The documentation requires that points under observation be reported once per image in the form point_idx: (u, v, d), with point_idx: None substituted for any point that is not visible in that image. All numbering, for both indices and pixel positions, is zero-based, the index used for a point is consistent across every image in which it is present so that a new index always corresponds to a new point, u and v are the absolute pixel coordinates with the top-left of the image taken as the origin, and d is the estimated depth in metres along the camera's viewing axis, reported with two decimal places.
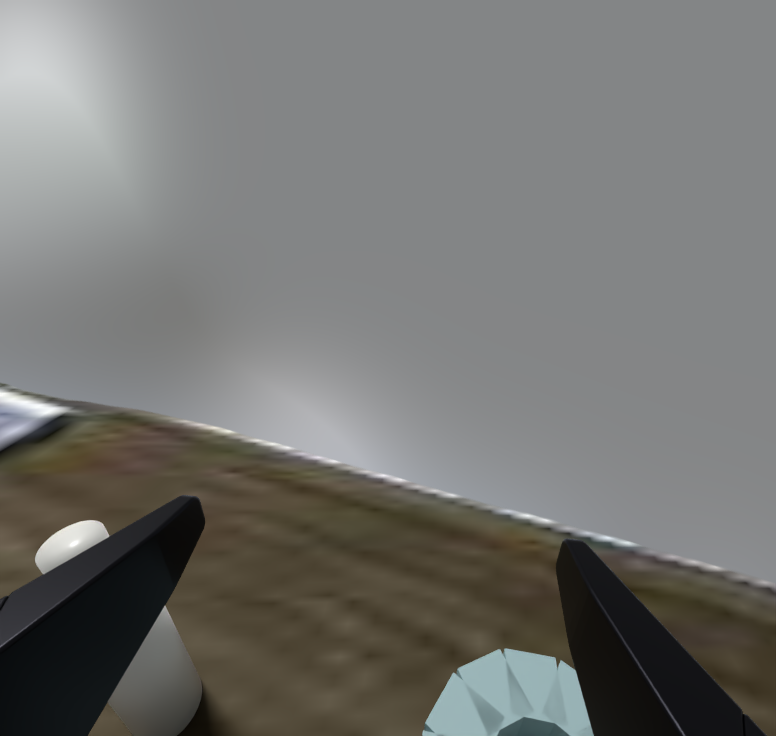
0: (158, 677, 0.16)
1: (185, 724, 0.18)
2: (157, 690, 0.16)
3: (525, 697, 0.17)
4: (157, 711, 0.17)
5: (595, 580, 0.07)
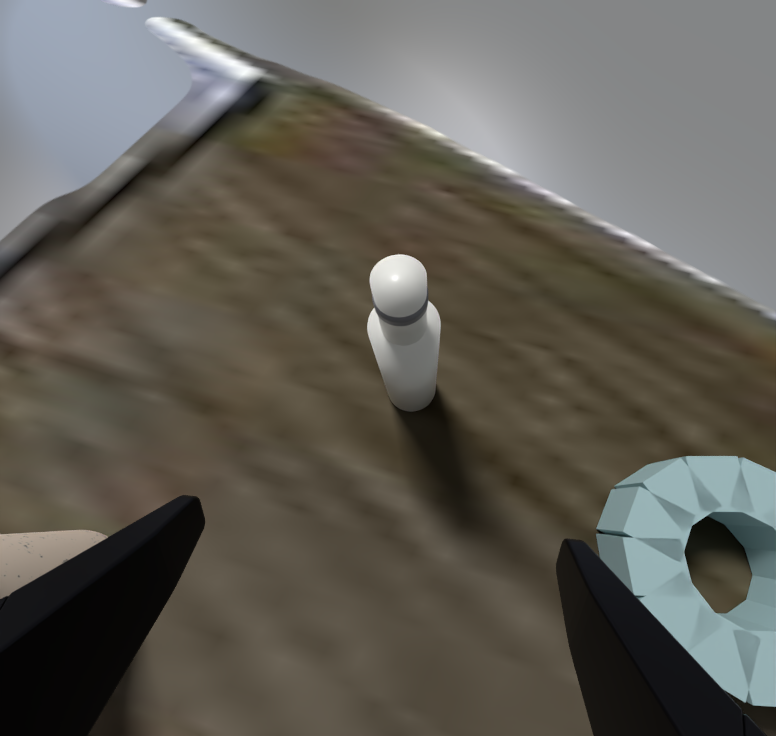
0: (426, 382, 0.20)
1: (426, 405, 0.24)
2: (423, 388, 0.20)
3: (748, 499, 0.18)
4: (417, 398, 0.21)
5: (595, 580, 0.07)
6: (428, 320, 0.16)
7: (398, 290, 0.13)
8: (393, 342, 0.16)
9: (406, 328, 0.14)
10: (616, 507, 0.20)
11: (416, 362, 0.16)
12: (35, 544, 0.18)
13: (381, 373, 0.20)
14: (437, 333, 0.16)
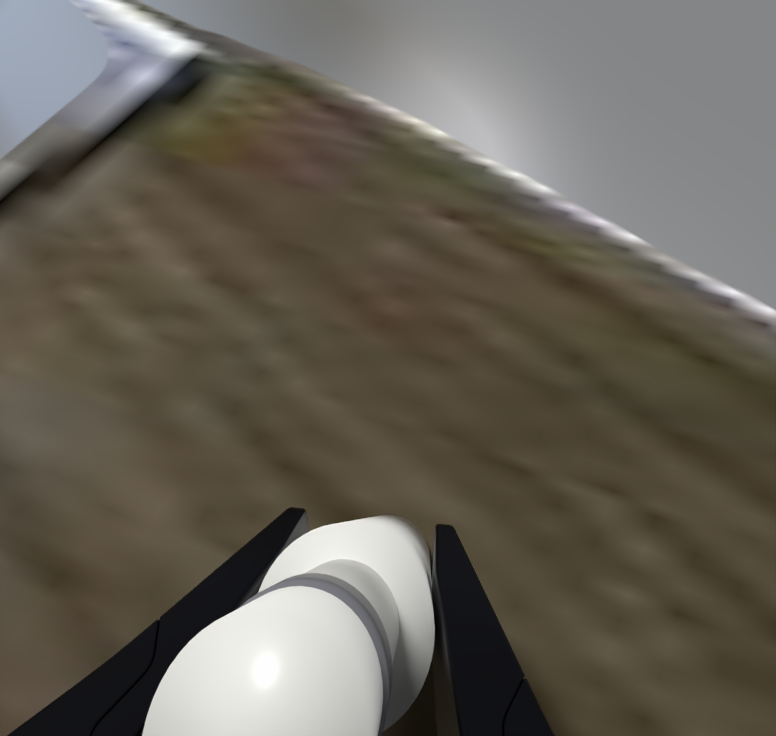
0: None
1: None
2: None
3: None
4: None
5: (445, 561, 0.07)
6: (403, 615, 0.06)
7: None
8: None
9: None
10: None
11: None
12: None
13: None
14: (425, 661, 0.06)
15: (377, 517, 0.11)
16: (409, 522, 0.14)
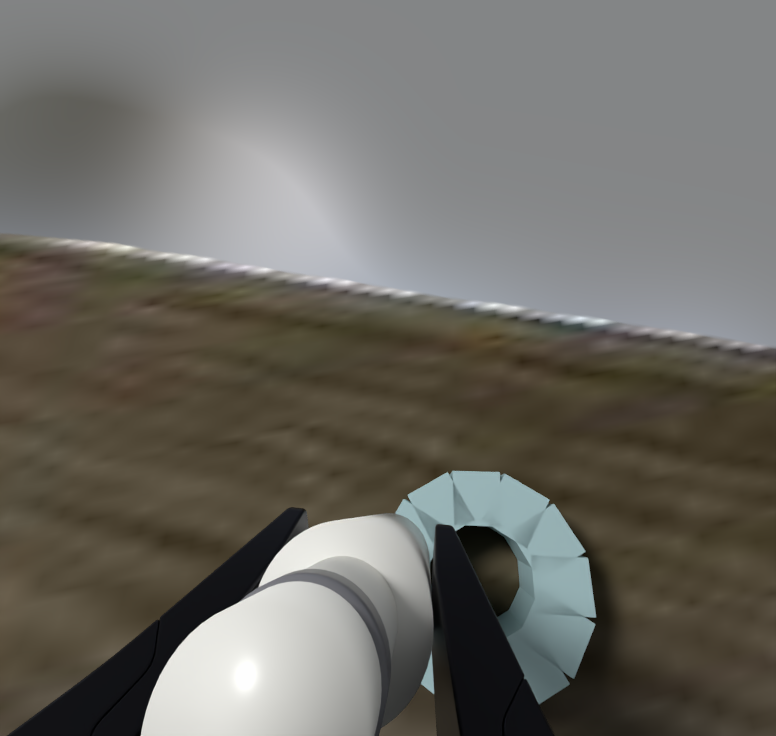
0: None
1: None
2: None
3: (468, 509, 0.19)
4: None
5: (445, 561, 0.07)
6: (402, 611, 0.06)
7: None
8: None
9: None
10: None
11: None
12: None
13: None
14: (423, 657, 0.06)
15: (376, 515, 0.11)
16: (408, 521, 0.14)
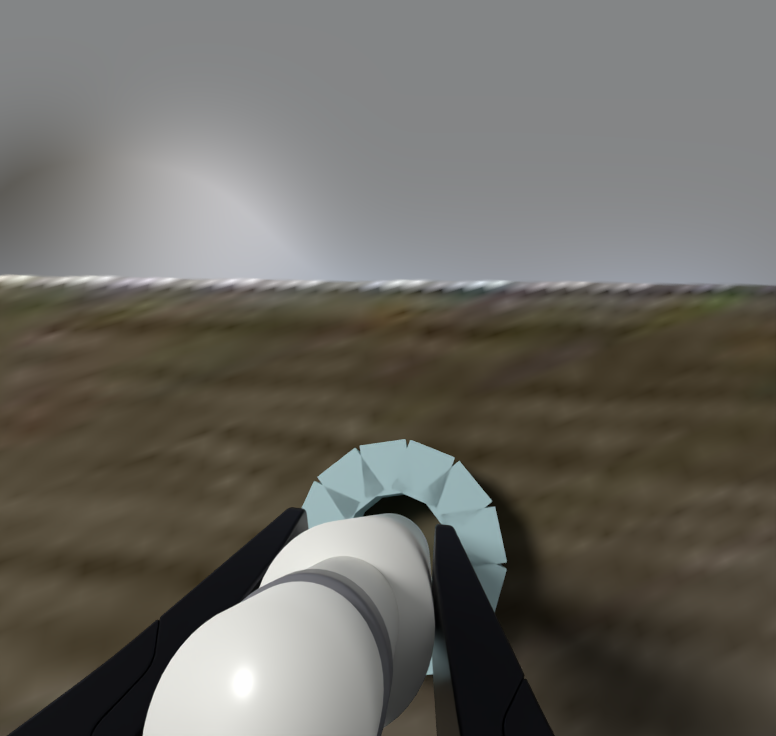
0: None
1: None
2: None
3: (378, 480, 0.19)
4: None
5: (445, 561, 0.07)
6: (404, 611, 0.06)
7: None
8: None
9: None
10: None
11: None
12: None
13: None
14: (425, 657, 0.06)
15: (377, 515, 0.11)
16: (409, 521, 0.14)
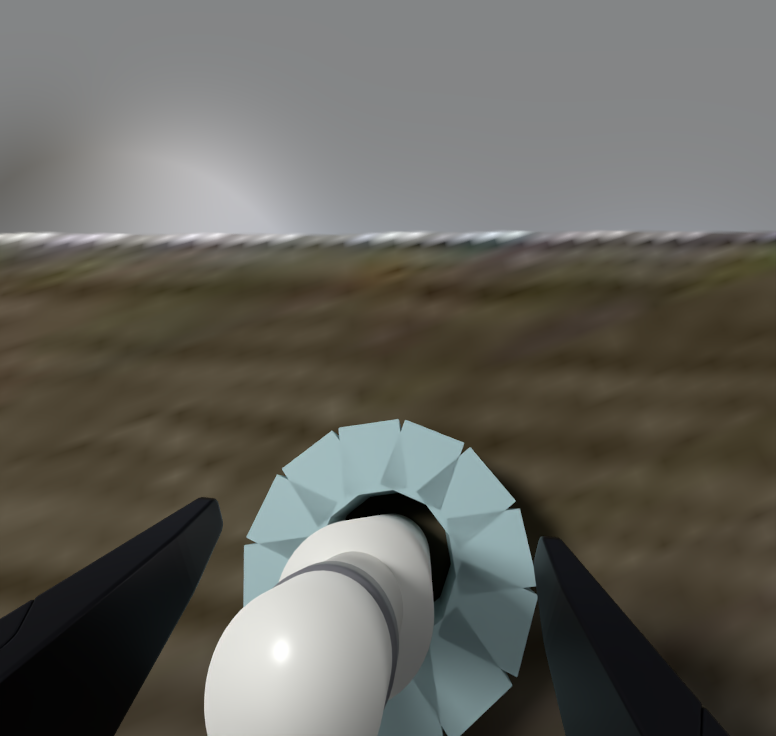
0: None
1: None
2: None
3: (362, 472, 0.14)
4: None
5: (568, 577, 0.07)
6: (407, 599, 0.07)
7: None
8: None
9: None
10: None
11: None
12: None
13: None
14: (425, 640, 0.07)
15: (381, 515, 0.12)
16: (410, 520, 0.15)
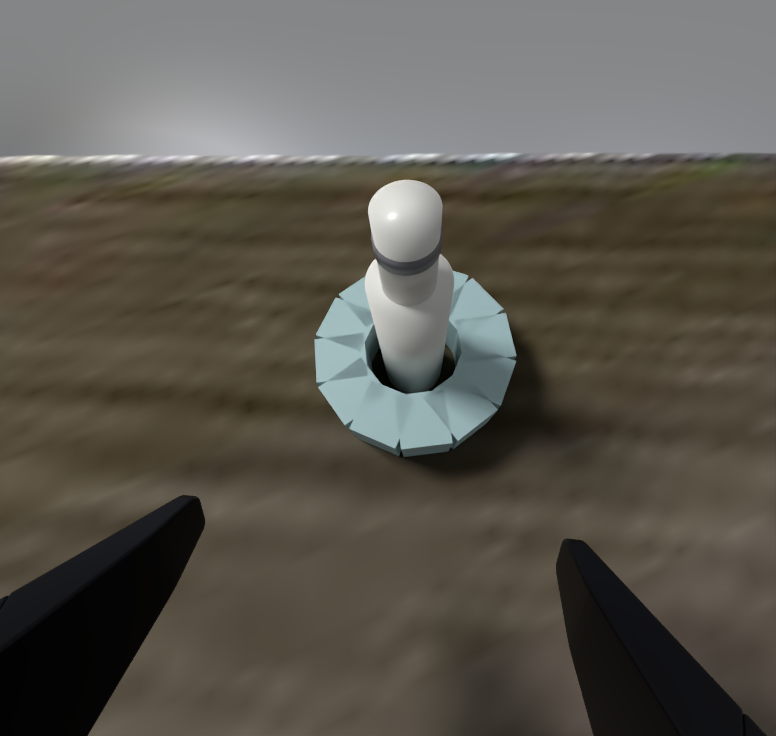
0: (433, 357, 0.17)
1: (430, 387, 0.21)
2: (428, 365, 0.17)
3: None
4: (421, 377, 0.19)
5: (595, 580, 0.07)
6: (439, 276, 0.13)
7: (405, 223, 0.10)
8: (395, 302, 0.13)
9: (412, 280, 0.12)
10: None
11: (423, 328, 0.13)
12: None
13: (380, 345, 0.17)
14: (449, 291, 0.13)
15: None
16: None
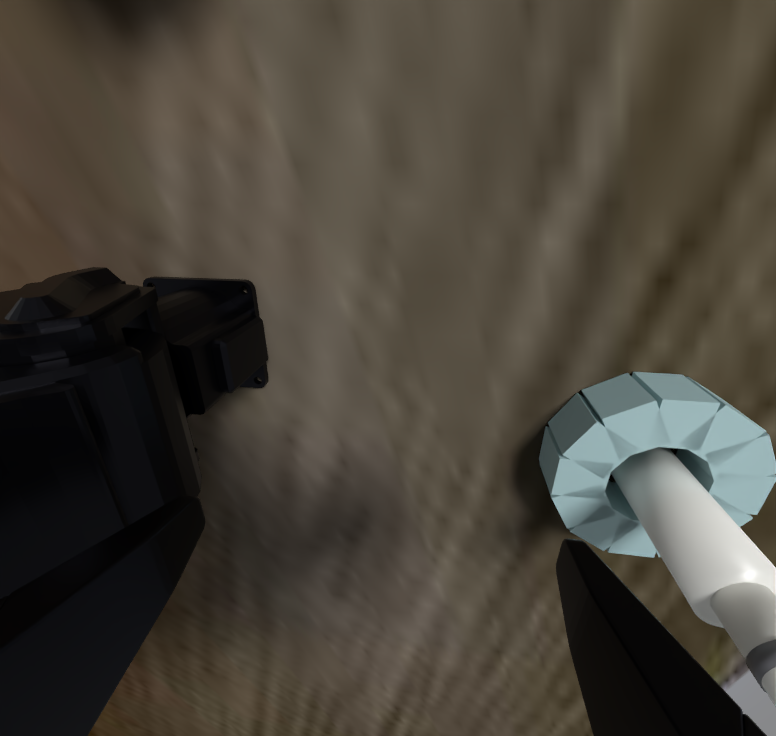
0: (640, 522, 0.18)
1: None
2: (633, 508, 0.18)
3: (727, 483, 0.19)
4: (621, 483, 0.20)
5: (595, 580, 0.07)
6: None
7: None
8: (724, 587, 0.13)
9: (741, 642, 0.12)
10: (672, 385, 0.18)
11: (680, 582, 0.15)
12: None
13: (677, 489, 0.17)
14: (708, 621, 0.14)
15: None
16: None
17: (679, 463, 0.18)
